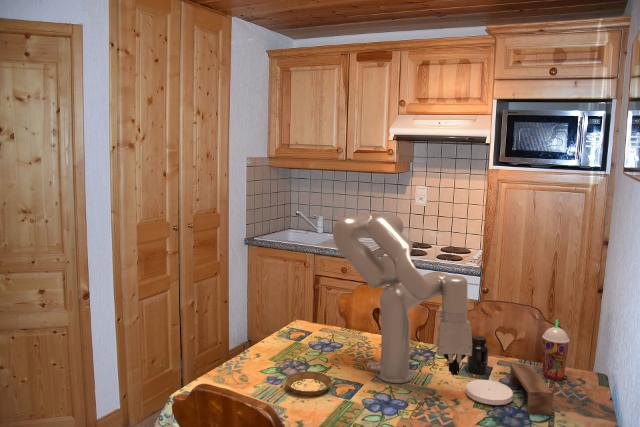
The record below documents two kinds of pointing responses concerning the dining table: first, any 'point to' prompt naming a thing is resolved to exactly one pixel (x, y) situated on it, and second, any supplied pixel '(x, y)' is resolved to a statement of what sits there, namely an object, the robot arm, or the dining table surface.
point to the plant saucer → (309, 375)
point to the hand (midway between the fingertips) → (454, 373)
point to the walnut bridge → (532, 388)
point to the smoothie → (555, 352)
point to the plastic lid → (489, 392)
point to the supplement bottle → (478, 356)
